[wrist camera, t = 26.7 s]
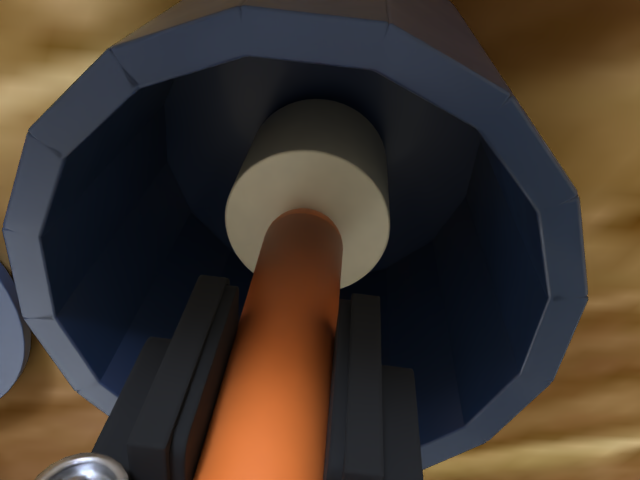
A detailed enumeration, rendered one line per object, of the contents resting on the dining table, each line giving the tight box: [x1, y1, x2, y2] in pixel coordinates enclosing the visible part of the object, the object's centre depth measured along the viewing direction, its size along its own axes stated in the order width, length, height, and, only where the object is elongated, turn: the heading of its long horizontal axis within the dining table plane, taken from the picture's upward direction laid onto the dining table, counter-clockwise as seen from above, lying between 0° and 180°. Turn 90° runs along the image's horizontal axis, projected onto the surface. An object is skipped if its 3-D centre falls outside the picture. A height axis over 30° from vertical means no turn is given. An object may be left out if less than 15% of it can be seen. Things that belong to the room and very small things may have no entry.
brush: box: [193, 99, 390, 480], centre depth 11 cm, size 4×4×19 cm
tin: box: [2, 0, 588, 470], centre depth 16 cm, size 12×12×9 cm
